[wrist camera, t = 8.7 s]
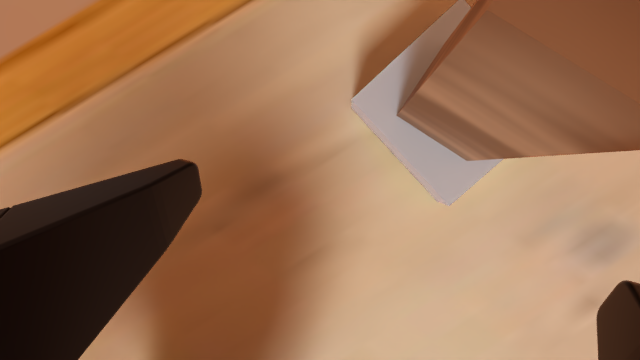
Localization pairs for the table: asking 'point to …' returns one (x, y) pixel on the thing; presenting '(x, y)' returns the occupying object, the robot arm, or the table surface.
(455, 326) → the table surface
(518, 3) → the walnut block
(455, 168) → the base
